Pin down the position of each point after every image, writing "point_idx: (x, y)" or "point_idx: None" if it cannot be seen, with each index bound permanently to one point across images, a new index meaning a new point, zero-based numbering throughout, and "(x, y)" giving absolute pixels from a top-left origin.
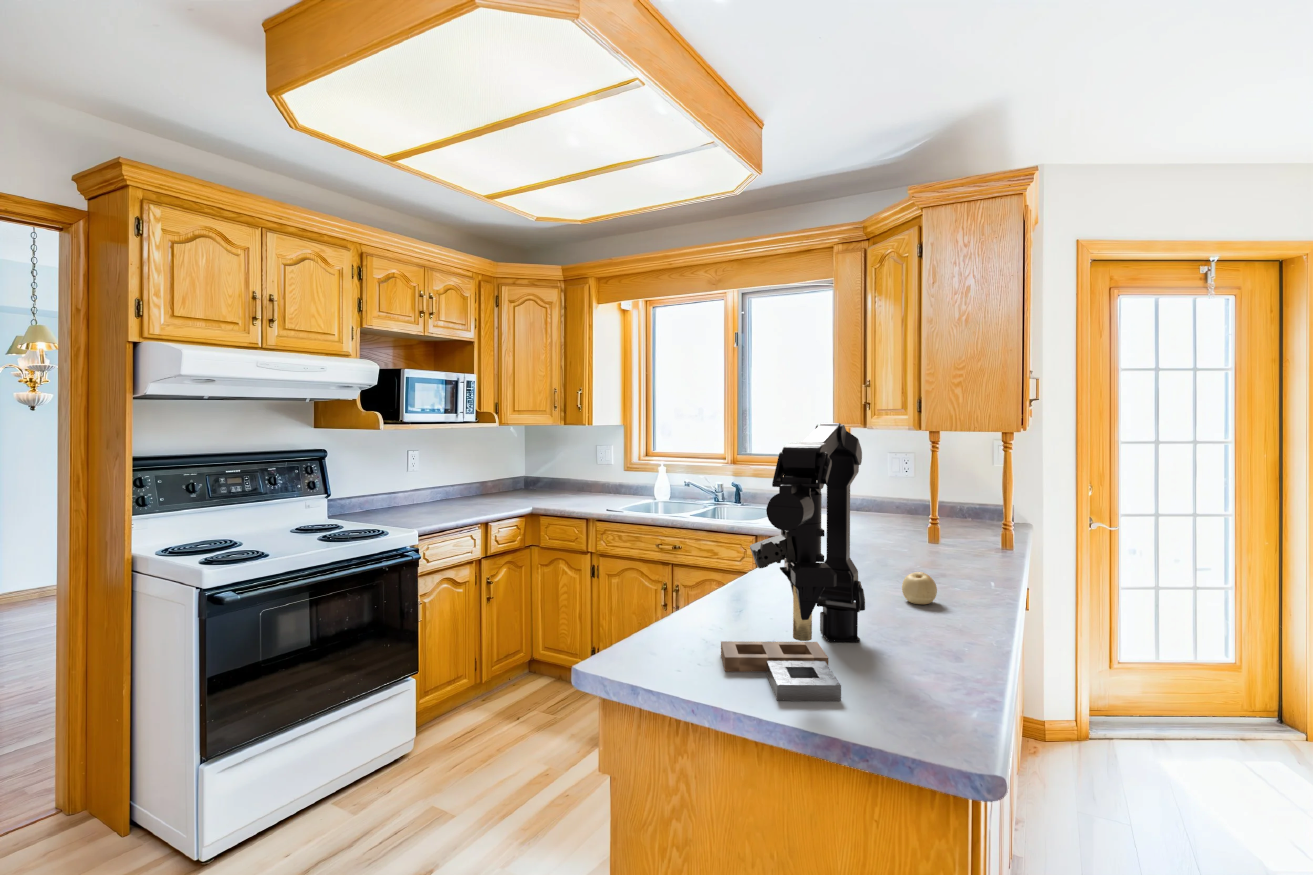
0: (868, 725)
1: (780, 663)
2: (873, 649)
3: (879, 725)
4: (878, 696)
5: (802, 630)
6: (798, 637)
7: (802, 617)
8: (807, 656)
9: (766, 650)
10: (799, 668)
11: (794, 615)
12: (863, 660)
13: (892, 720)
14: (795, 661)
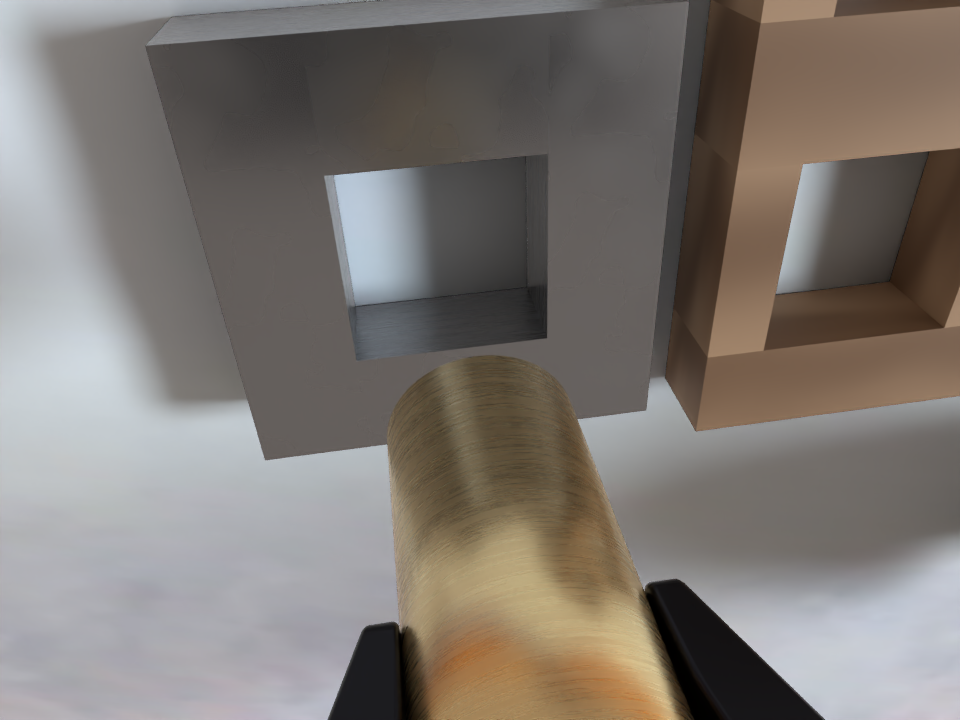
0: (7, 480)
1: (619, 120)
2: (903, 570)
3: (30, 519)
4: (368, 543)
5: (394, 509)
6: (403, 417)
7: (355, 657)
8: (733, 321)
9: (919, 23)
10: (545, 250)
11: (481, 570)
12: (788, 527)
13: (110, 564)
14: (652, 237)
